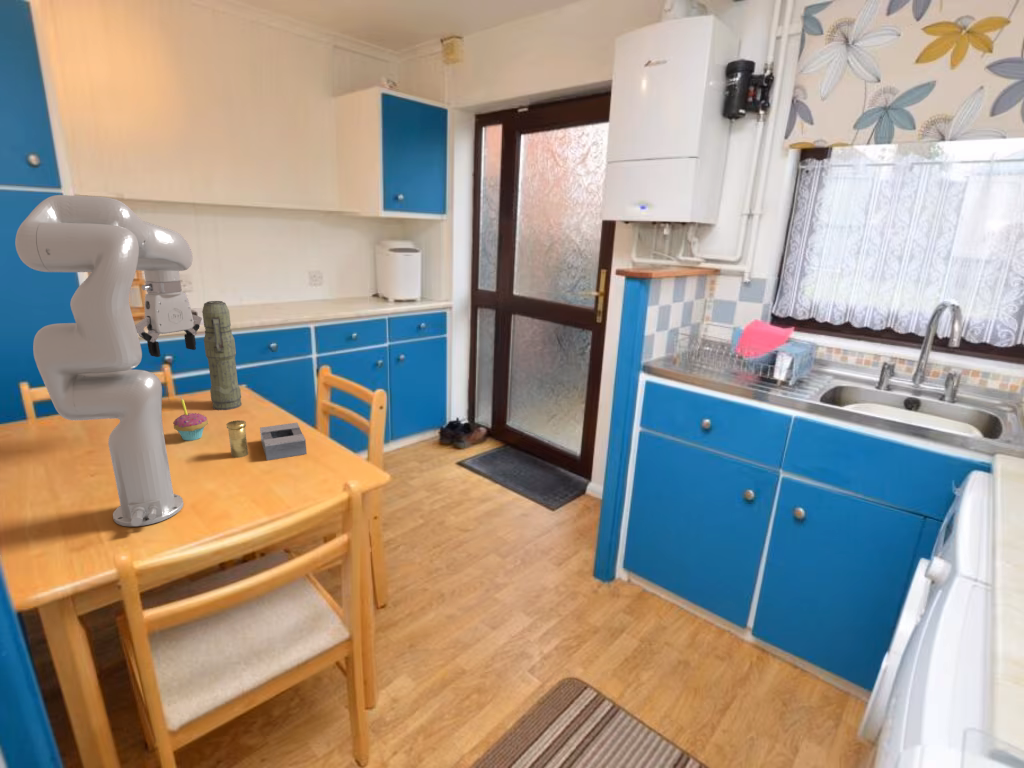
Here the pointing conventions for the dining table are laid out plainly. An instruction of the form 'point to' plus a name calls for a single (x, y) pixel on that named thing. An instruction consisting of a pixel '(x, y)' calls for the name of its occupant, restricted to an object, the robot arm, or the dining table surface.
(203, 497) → the dining table surface
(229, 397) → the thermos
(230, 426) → the brass capped cylinder
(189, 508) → the dining table surface
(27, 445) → the dining table surface
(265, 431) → the jig
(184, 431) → the cupcake
